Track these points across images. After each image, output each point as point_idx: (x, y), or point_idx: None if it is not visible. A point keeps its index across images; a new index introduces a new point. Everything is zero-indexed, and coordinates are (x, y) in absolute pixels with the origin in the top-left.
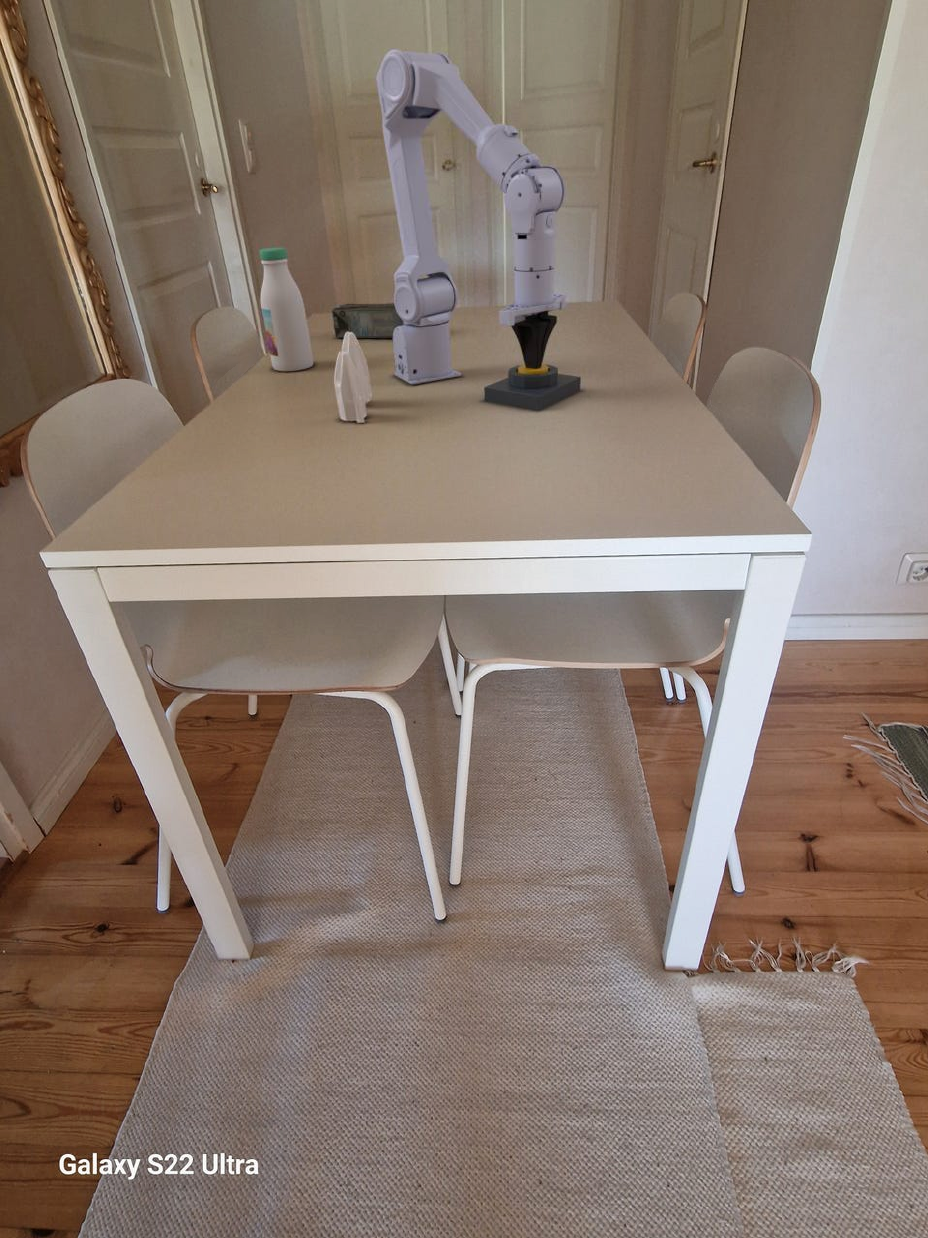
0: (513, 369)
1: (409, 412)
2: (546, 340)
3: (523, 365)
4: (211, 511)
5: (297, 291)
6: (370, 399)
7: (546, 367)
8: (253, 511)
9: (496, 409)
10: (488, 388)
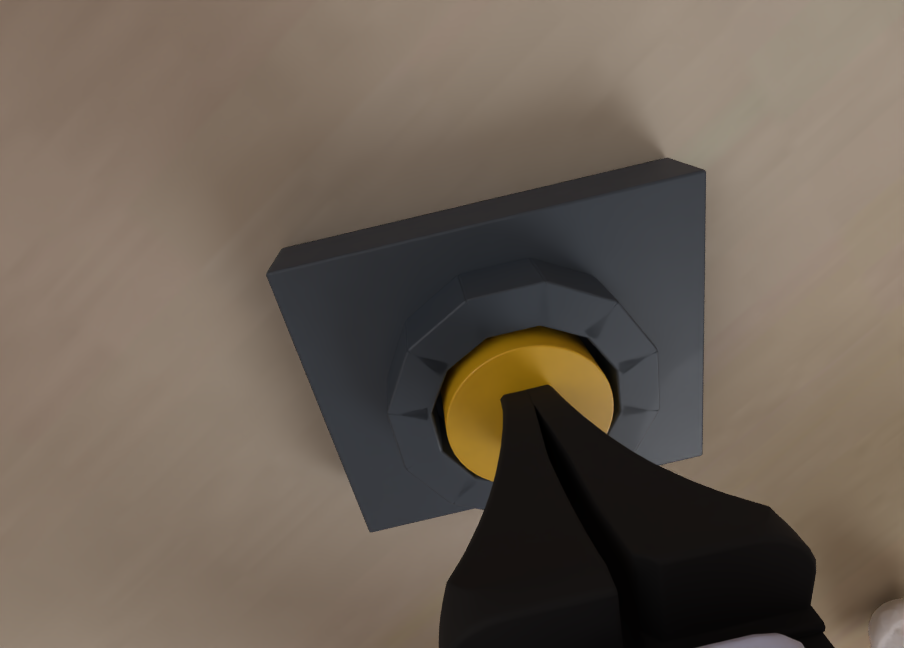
0: None
1: (895, 483)
2: (522, 481)
3: None
4: None
5: None
6: (894, 609)
7: (488, 369)
8: None
9: (733, 313)
10: (701, 435)
